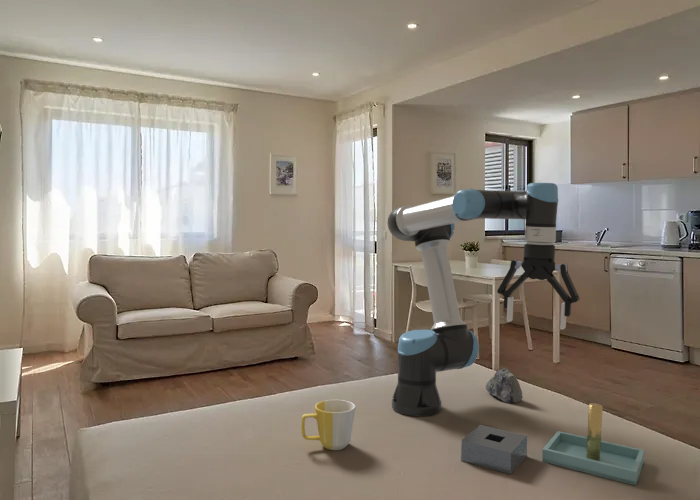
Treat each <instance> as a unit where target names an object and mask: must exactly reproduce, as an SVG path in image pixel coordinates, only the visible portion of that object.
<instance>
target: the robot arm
mask: <svg viewBox="0 0 700 500" xmlns="http://www.w3.org/2000/svg"><path fill="white" fill-rule="evenodd" d="M558 190H559V188H558V185H557V184H556V183H553V182H530V183H528V184H527V186H526V190H525V191H523V190H514V191H513V190H494V189H493V190H491V189H490V190H488V189H475V188H468V189H460V190H458V191H457V192H456V193H455V194H454V195H451V196H448V197H445V198H440V199H437V200H434V201H429V202H425V203H422V204H418V205H412V204H411V205H410V204H406V205H403V206H398V207H396V208H394V209H393V210H392V211H391V212H390V214H389V215H388V218H387V229H388V231H389V232H390V234H391V235H392V236H393V237H395V238H396V239H398V240H401V241H403V242H414V245H415V246H414V247H415V250H417V251H419V253H421V258H422V259H421V260H422V265H423V270H424V275H425V280H426V285H427V286H426V287H427V291H428V297H429V303H430V308H431V313H432V317H433V318H432V319H433V325H432V327H431V328H430V329H412V330H409V331H406V332H404V333H402V334H401V335H400V336H399V338H398V344H397V345H398V346H397V384H396V387H395V390H394V392H393V395H392V399H391V408H392V409H393V410H394V411H395V412H396V413H399V414H402V415H404V416H405V415H406V416H411V417H412V416H413V417H429V416H434V415H437V414H439V413H441V411H442V400H441V396H440V393H439V390H438V386H437V372H440V373H441V372H445V371H453V370H461V369H464V368H468V367H470V366H472V365H473V364H475V362H476V359H477V358H478V357H479V353H480V352H479V351H480V349H479V347H480V345H479V340H478V338H477V337H478V336H477V335H475V333H474V332H473V331H472V330H469V329H468V325H467V323H466V322H465V321H464V320H462V317H461V314H460V310H459V303H458V299H457V294H456V288H455V283H454V279H453V273H452V268H451V262H450V257H449V252H448V247H449V246H450V244H451V238H452V237H453V236H454V231H455V224H457V223H462V222H467V221H468V222H469V221H473V220H480V219H483V220H484V219H485V220H486V219H487V220H489V219H490V220H491V219H493V220H525V225H524V242H526V243H525V244H524V245H523V260H522V261H519V260H518V259H513V260H511V261H510V266H509V270H507V273H506V274H505V276H504V278H503V280H502V282H501V284H500V285H499V287H498V288H497V291H496V292H497V294H499V295H502V296H503V308H504V309H506V322H507V323H511V322H512V321H513V320H514V319H513V318H514V301H515V300H514V299H515V298H514V295H513V296H512V294H514V292H516V290H517V289H518V288H519V287H520V286H522V284H523V283H524V282H525V281H526V280H527V279H528V278H529V279H530V280H536V279H537V280H539V281H545V280H546V281H547V282H548V283H550V285H551V286H552V288H553V289H554V291H556V293H557V294H558V295H559V297H560V298H561V300H562V301H563V302H562V303H561V306H560V323H559V330H565V329H566V327H567V317H571V313H572V304H573V303H577V302H579V301H580V296H579V293H578V292H577V290H576V287H575V285H574V283H573V281H572V278H571V276H570V274H569V267H568V264H567V263H562V264H561V263H559V264H556V262H555V260H556V259H555V254H556V246H555V244H554V243H556V240H557V239H556V238H557V215H558V204H559V191H558ZM520 268H522V269H523V271H524V272H523V273H522V274H521V275H520V276H519V277H518V278H517V279H516V280H515V282H513V284H511V285H510V287H508V286H509V284H510V283H511V281H512V279H513V278H514V275H515V274H516V272H517V271H518V270H519V269H520ZM556 270H557V272H558V273H559V274H560V276H561V278H562V281H563V282H564V285H565V287H566V289H567V291H568V293H567V291H566V290H565V289H564V287H563V286H562V285H561V283H560V282H559V281H558V280H557V278H556V276H555V275H554V274H553V273H554V272H555V271H556ZM507 287H508V288H507ZM569 295H570V296H569Z"/></svg>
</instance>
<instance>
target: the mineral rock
mask: <svg viewBox="0 0 700 500" xmlns="http://www.w3.org/2000/svg"><path fill="white" fill-rule="evenodd" d="M485 390H486V391H487V392H488V393H489V394H491V395H492V396H495V397H496V398H497V399H499V400H501V401H502V402H505V403H508V404H509V403H510V404H511V403H515V404H516V403H520V402H521V401H522V399H523V391H522V388H521V385H520V382H519V380H518V379H517V377H516V376H515V374H514V373H511V372H510V369H508V368H507V367H504V368H500V369H499V370H496V371H495V373H494V375H493V376H492V377H491V378H490V379H489V380H488V381H487V382H486V384H485Z"/></svg>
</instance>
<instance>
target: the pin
mask: <svg viewBox="0 0 700 500" xmlns="http://www.w3.org/2000/svg"><path fill="white" fill-rule="evenodd" d="M603 408H604V407H603V405H602V404H599V403H594V402H591V403H588V412H587V436H586V437H587V453H586V458H588V459H592V460H596V461H600V450H601V440H602V427H603V426H602V425H603V424H602V423H603Z"/></svg>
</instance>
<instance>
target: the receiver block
mask: <svg viewBox="0 0 700 500" xmlns="http://www.w3.org/2000/svg"><path fill="white" fill-rule="evenodd" d="M460 451H461V452H460V453H461V455H460V460H461V461H462V462H465V463H469V464H471V465H476V466H479V467H483V468H486V469H490V470H494V471H497V472H500V473H504V474H508V475H512V474H513V473H514V471H515V470H516V469H517V468H518V466H520V465H521V463H522V462H523V461H524V460H525V458H527V456H528V435H525V434H521V433H516V432H513V431H510V430H509V431H508V430H504V429H500V428H495V427H490V426H487V425H483V424H480V425H478V426H477V427H476V428H475V429H474V430H472V431H470V433H468V434H467V435H466V436H465V437H464V438H462V439H461V450H460Z"/></svg>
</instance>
